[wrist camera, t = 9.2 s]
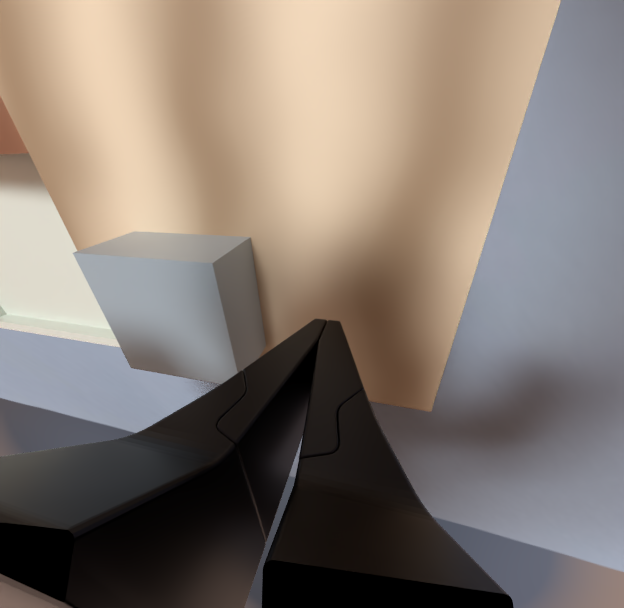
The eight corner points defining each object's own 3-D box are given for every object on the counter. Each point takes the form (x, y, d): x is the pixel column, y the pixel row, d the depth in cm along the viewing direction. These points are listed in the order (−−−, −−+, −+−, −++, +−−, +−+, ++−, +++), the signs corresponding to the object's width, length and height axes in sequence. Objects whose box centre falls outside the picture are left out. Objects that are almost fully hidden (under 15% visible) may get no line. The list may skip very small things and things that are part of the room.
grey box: (250, 236, 9) (212, 263, 7) (266, 345, 12) (241, 387, 10) (134, 231, 11) (72, 252, 8) (171, 332, 13) (130, 367, 11)
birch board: (647, -436, 4) (818, -815, 3) (425, 378, 13) (431, 411, 12) (-48, -161, 8) (-171, -247, 6) (157, 338, 17) (131, 360, 15)
